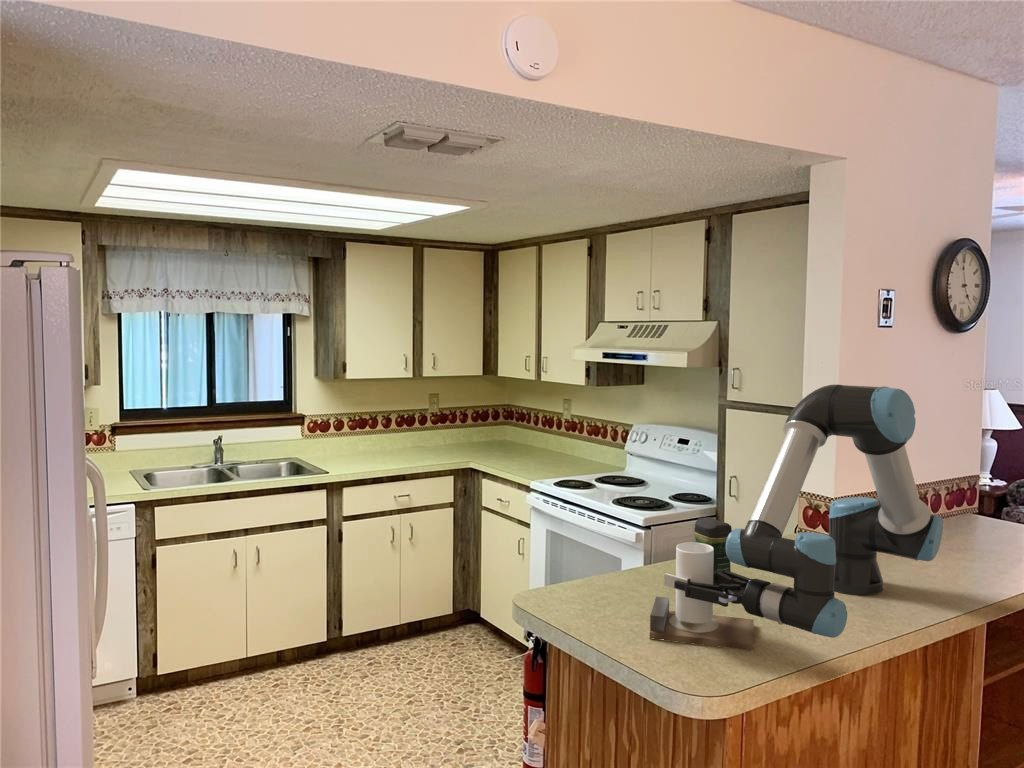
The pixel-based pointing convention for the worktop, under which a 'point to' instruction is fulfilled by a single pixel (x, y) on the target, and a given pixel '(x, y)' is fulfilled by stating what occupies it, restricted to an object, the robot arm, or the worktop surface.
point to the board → (701, 628)
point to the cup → (694, 580)
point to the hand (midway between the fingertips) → (676, 574)
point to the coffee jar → (714, 540)
